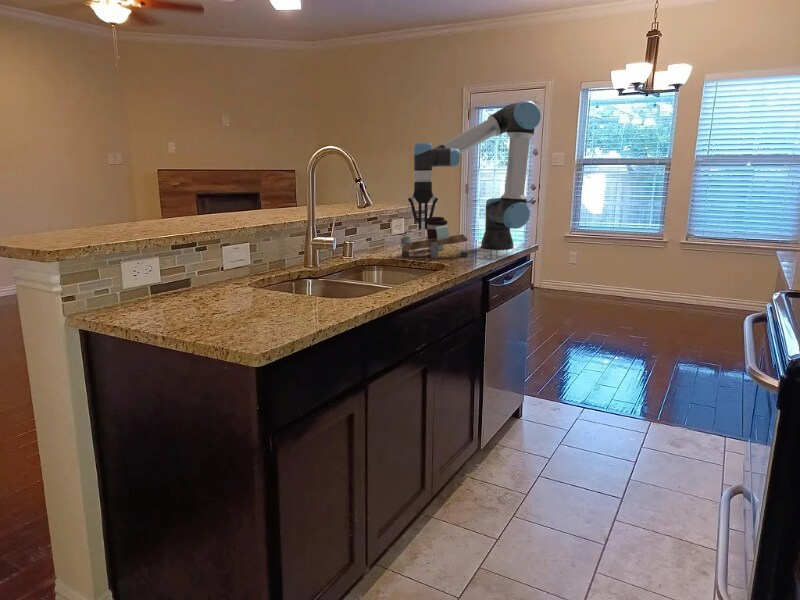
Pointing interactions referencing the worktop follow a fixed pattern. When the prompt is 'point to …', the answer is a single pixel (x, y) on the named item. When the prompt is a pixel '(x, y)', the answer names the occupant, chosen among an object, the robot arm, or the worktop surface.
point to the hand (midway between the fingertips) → (423, 236)
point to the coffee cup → (432, 229)
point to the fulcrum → (435, 251)
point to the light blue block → (442, 232)
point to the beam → (429, 242)
